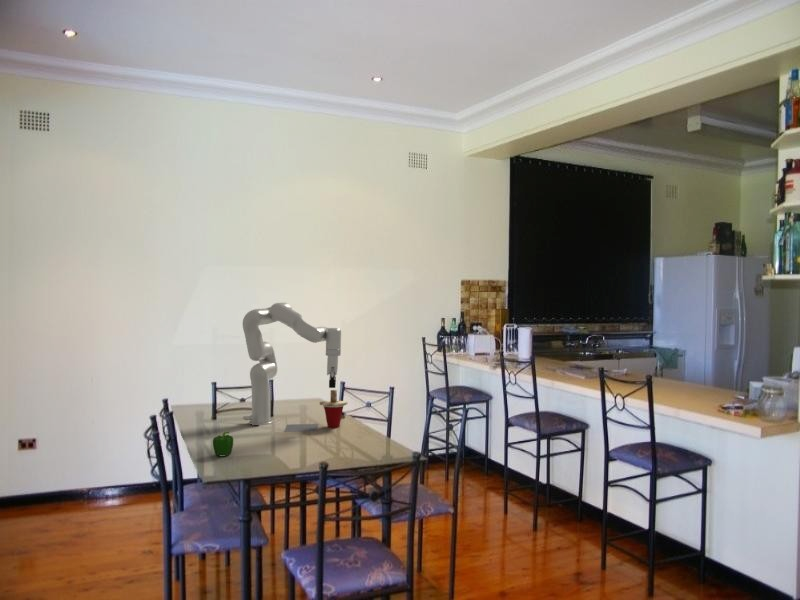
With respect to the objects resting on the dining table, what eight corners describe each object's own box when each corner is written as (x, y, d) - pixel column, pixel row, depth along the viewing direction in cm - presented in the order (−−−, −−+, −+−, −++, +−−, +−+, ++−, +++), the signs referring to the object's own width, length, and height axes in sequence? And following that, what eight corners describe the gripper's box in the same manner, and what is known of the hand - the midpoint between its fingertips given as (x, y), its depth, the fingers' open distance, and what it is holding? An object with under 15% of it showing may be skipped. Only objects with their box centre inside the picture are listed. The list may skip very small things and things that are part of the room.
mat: (284, 433, 295) (284, 431, 295) (287, 425, 311) (287, 424, 311) (317, 432, 297) (317, 431, 297) (318, 425, 313) (318, 423, 313)
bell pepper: (212, 458, 251) (212, 434, 251) (213, 453, 259) (212, 430, 259) (233, 457, 254) (233, 433, 254) (233, 452, 262) (233, 429, 261)
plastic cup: (346, 425, 312) (346, 402, 311) (342, 430, 301) (342, 406, 301) (325, 425, 313) (325, 402, 312) (320, 430, 302) (320, 406, 302)
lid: (319, 405, 299) (319, 391, 299) (320, 402, 313) (320, 389, 313) (347, 405, 300) (347, 391, 301) (347, 402, 314) (347, 389, 315)
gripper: (326, 350, 314) (325, 383, 315) (325, 354, 297) (324, 389, 297) (340, 350, 315) (339, 383, 315) (340, 354, 298) (339, 389, 298)
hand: (332, 386), depth 306 cm, fingers open, 9 cm apart
